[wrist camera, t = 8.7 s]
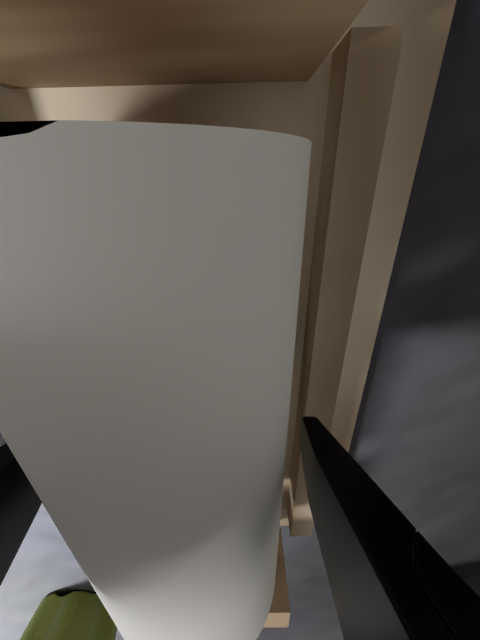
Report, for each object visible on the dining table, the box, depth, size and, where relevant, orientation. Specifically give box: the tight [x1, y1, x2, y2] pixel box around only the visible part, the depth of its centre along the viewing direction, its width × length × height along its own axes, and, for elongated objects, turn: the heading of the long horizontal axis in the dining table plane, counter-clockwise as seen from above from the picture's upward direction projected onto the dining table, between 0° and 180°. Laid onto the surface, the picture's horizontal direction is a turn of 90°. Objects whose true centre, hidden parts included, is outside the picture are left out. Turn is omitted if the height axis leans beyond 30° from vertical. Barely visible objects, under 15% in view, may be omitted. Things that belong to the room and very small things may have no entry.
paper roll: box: [0, 120, 312, 640], centre depth 8 cm, size 14×6×6 cm, turn 1°
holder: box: [0, 0, 457, 627], centre depth 9 cm, size 13×21×5 cm, turn 1°
